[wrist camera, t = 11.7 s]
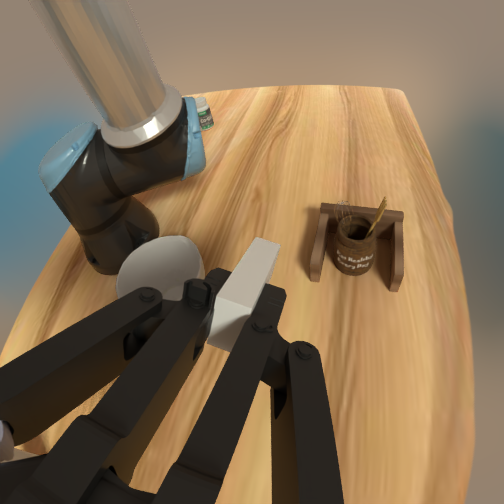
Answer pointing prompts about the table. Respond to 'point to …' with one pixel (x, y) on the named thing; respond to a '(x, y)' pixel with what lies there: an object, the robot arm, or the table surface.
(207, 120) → the pill bottle
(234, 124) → the table surface
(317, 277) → the walnut corral
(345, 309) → the table surface
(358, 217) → the utensil holder
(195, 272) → the teacup
